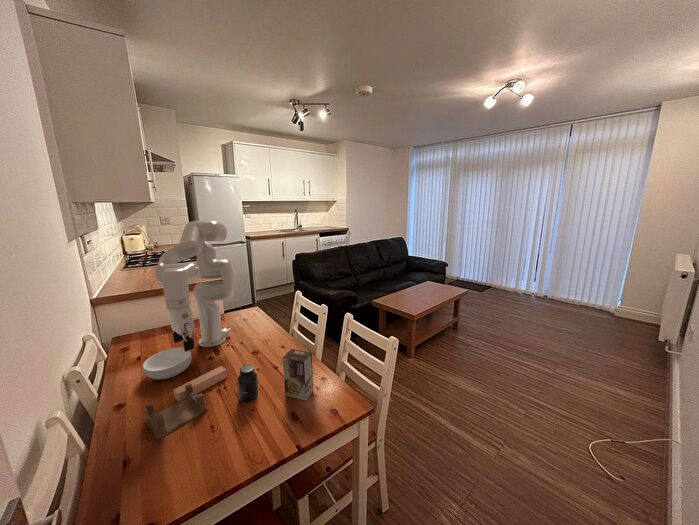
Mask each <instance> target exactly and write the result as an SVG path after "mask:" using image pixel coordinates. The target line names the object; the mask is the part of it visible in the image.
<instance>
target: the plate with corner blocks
mask: <svg viewBox="0 0 699 525" xmlns="http://www.w3.org/2000/svg"><path fill="white" fill-rule="evenodd" d="M185 390H186V391H185V394H186V399H184V400H182V401H180V402H178V401H177V402H176V403H174V404H173V405H170V406H168V407H167V408H165V409H163V410H161V411H159V412H156V411H155V407H154V403H153V402H149V403H148V404H145V405H144V407H145V414H146V418H145V419H144V423H146V425H147V426H148V428H149V429H150V431H151V432H152V433H153V435H154V436H155V437H156V439H157V440H160V439H162V438H163V437H165V436H166V435H168V434H170V433H172V432H173V431H175V430H176V429H179V428H180V427H182V426H183V425H186V423H187V424H188V423H189V422H190V421H192V420H193V419H195V418H197V417H198V416H200V415H202V414H204V413H206V412H207V411H209V409H208V407H207V406H206V402H205V398H204V394H203V393H202V392H199V393H197V394H196V393H195V392H194V391H193V388H192V384H188V385H186V386H185Z"/></svg>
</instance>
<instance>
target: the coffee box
mask: <svg viewBox="0 0 699 525" xmlns="http://www.w3.org/2000/svg"><path fill="white" fill-rule="evenodd" d="M282 367H283V379H284V395H285V396H287V397H291V398H295V399H299V400H302V401H307V400H308V399H309V397H310V396H311V395H312V393H313V392H314V377H313V376H314V375H313V374H314V373H313V352H310V351H305V350H299V349H294V348H291V349H289V351H288V352H286V354H285V355H283V357H282Z"/></svg>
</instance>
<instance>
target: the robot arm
mask: <svg viewBox="0 0 699 525" xmlns="http://www.w3.org/2000/svg"><path fill="white" fill-rule="evenodd" d="M227 235H228V231H227V227H226V226H225V224H224V223H221V222H220V221H219V222H218V221H216V220H194V221H189V222H187V223H186V224H185V226H184V229H183V231H182V235H181V236H180V240H179V242H178V243H177V244H176V245H174V246H172V247H171V248H170V249H168V250H166V251H165V252H164V253H163V254H162V255H161V256H160V258H159V260H158V262H157V265H156V268H155V271H154V274H155V275H154V277H155V279H156V281H157V282H158V283H159V284H161V285H162V288H163V294H164V301H165V307H166V308H165V309H166V310H168V313H169V315H168V316H169V322H170V327H171V329H172V330H171V332H172V336H173V343H175V344H177V343H180V342H182V343H183V348H184V351H185V352H187V351H189V350H190V351H192V350H194V349H195V342H194V338H195V337H194V332H195V330H196V328H195V322H194V317H193V312H192V309H191V303H192V302H191V294H190V288H189V284H192V283H194V282H197V281H198V280H199V279H201V280H216V279H221V280H220V281H204V282H199V283H197V284H196V285H194V287H193V296H194V300H195V301H196V302H195V303H196V306H197V313H198V319H199V327H200V334H201V338H200V339H199V340H198V346H200V347H203V348H211V347H216V346H219V345H222V343H224V342H226V340H227V336H226V335H227V334H229V333H232V328H226V327H225V328H223V327H222V319H221V311H220V310H221V309H220V305H219V304H218V303H217V301H226V300H227V301H228V300H230V299H232V298H233V296H234V280H233V278H234V277H233V265H232V263H231V261H230V260H229V259H217V258H216V257H217V255H216V253H217V252H216V249H215V247H214V246H213V245H212V244H211V243H210V242H223V241H225V240H226V239H227ZM194 257H196V263H192V262H187V263H186V262H185V263H181V262H182V261H185V260H188V259H191V258H194ZM222 328H223V329H222Z"/></svg>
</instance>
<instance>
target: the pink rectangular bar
mask: <svg viewBox="0 0 699 525" xmlns="http://www.w3.org/2000/svg"><path fill="white" fill-rule="evenodd" d="M227 372H228V371H227V369H226V368H225V367H223V366H221V365H220V366H218V367H216V368H214V369H212V370H210V371H207V372H206V373H204V374H202V375H200V376H198V377H196V378H194V379H192V380H190V381H188V382H185V383H184V384H182V385H180V386H178V387H175V388H174V389H173V394H174V399H175V401H177V403H178V402H180V401H182V400H184V399H186V394H185V391H186V390H185V386H186V385H188V384H192V388H193V391H194V392H195V393H196V394H197V395H198V394H200V393H202V392H203V391H205V390H207V389H208V388H210V387H212V386H214V385H216V384H218V383H219V382H222V381H223V380H225V379H227V378H228V373H227Z"/></svg>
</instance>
